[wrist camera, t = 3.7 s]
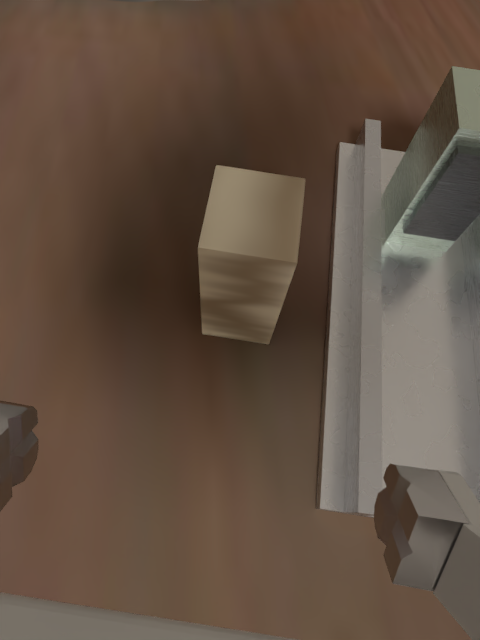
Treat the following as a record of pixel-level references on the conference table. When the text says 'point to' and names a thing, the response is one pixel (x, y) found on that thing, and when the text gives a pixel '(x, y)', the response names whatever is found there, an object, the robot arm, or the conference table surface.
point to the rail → (404, 305)
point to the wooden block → (248, 251)
